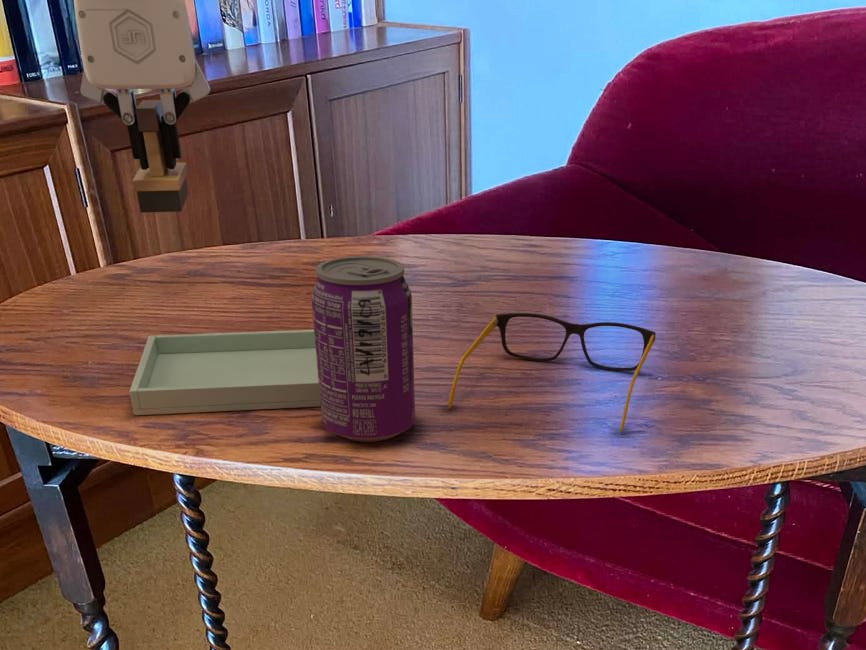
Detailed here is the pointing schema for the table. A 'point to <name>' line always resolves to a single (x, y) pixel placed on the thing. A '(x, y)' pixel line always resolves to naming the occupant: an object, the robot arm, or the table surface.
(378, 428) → the beverage can
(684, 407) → the table surface
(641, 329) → the eyeglasses
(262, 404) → the tray
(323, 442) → the table surface
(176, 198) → the brush
